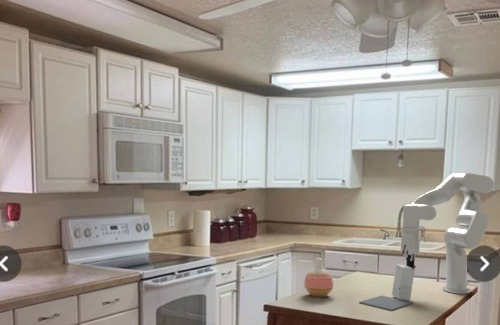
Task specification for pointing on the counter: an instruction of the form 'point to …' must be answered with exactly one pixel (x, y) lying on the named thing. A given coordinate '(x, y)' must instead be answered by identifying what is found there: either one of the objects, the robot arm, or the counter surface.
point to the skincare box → (403, 282)
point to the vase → (318, 281)
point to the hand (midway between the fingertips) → (410, 268)
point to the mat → (386, 303)
